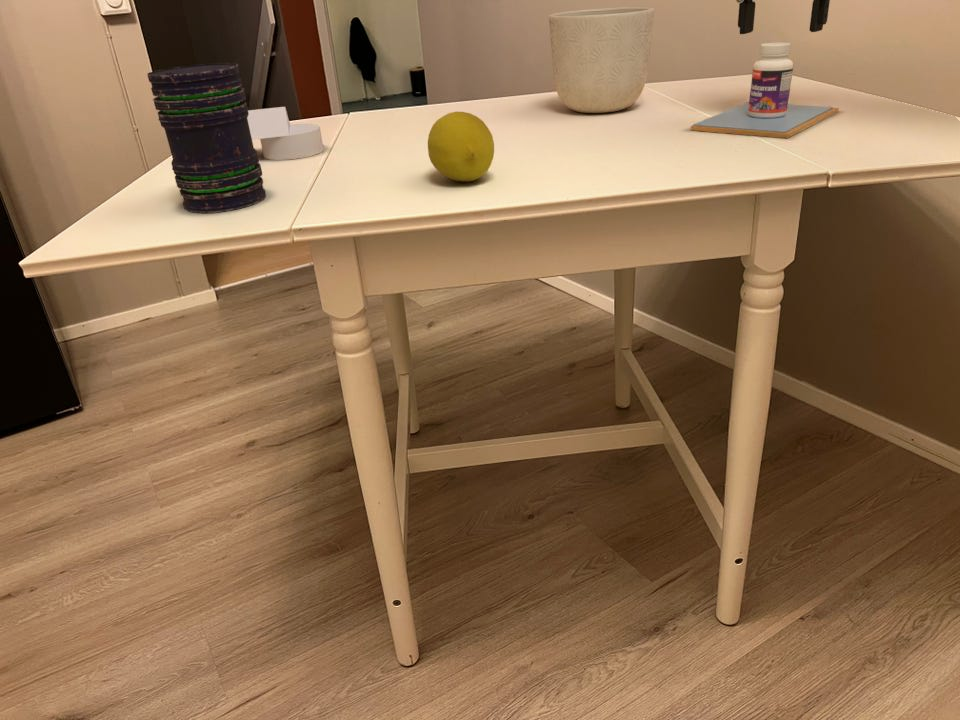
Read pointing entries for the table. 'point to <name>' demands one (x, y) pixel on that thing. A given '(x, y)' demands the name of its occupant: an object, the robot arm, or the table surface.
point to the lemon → (460, 146)
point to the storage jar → (208, 136)
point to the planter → (601, 57)
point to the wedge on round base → (283, 135)
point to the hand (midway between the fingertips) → (780, 32)
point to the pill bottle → (771, 81)
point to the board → (765, 121)
